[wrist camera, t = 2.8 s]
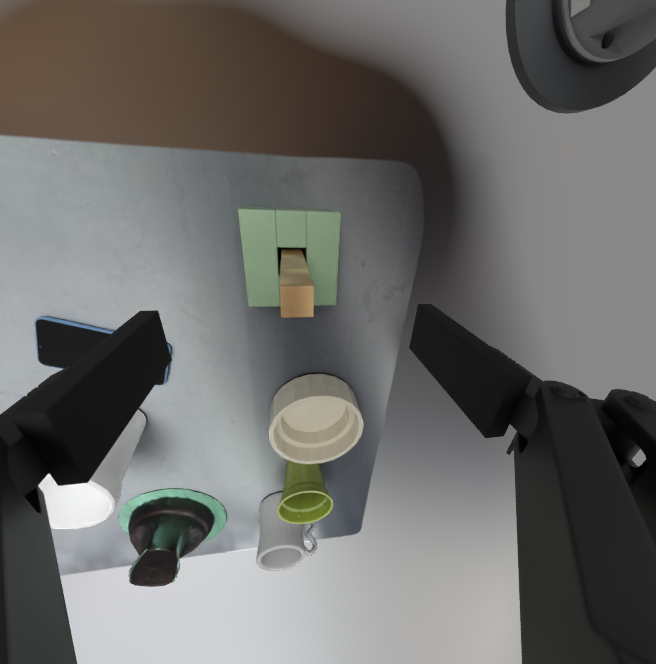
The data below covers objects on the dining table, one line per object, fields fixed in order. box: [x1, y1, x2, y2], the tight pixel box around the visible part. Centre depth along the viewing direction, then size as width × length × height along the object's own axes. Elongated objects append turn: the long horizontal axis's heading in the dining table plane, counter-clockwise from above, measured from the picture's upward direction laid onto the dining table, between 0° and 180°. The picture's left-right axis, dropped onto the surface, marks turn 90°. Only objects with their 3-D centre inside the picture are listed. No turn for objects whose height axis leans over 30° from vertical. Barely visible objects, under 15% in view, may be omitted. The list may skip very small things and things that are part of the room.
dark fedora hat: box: [119, 489, 226, 587], centre depth 52 cm, size 15×19×20 cm
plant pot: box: [277, 460, 333, 524], centre depth 48 cm, size 9×9×9 cm
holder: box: [238, 207, 341, 307], centre depth 30 cm, size 10×10×6 cm
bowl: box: [269, 374, 364, 464], centre depth 43 cm, size 14×14×6 cm
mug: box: [256, 492, 317, 571], centre depth 53 cm, size 12×9×10 cm
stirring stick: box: [280, 247, 314, 318], centre depth 25 cm, size 2×2×18 cm
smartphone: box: [35, 316, 171, 385], centre depth 35 cm, size 7×1×15 cm
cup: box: [38, 410, 146, 529], centre depth 35 cm, size 10×10×13 cm
